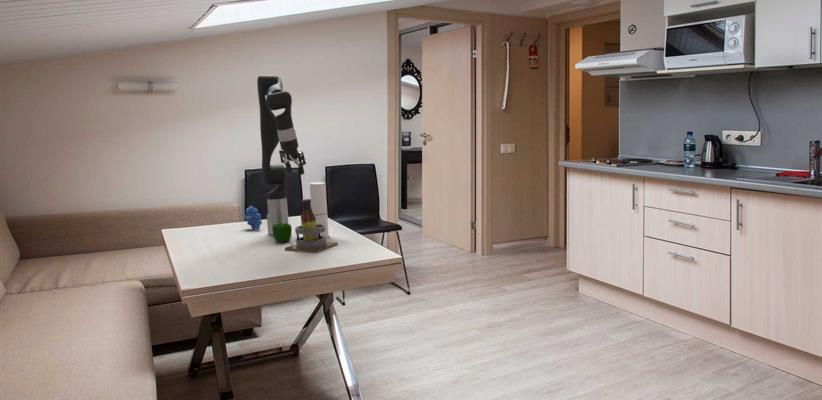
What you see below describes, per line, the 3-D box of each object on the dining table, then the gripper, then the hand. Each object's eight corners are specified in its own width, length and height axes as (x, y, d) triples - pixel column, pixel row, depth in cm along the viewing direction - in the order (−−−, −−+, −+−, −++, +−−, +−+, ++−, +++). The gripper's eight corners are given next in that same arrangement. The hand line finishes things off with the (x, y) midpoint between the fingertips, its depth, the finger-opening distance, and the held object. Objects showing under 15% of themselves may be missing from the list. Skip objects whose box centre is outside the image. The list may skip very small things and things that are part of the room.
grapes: (240, 229, 322) (238, 206, 320) (251, 227, 327) (249, 204, 326) (254, 231, 315) (252, 207, 313) (265, 229, 320) (263, 206, 318)
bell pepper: (294, 241, 286) (293, 219, 284) (277, 244, 282) (275, 222, 280) (288, 239, 293) (286, 217, 291) (271, 241, 289) (269, 219, 287)
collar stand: (284, 250, 269) (283, 229, 268) (308, 242, 283) (307, 222, 281) (315, 252, 261) (313, 231, 260) (337, 244, 275) (336, 224, 274)
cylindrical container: (330, 234, 298) (326, 182, 295) (326, 237, 291) (323, 183, 288) (315, 235, 299) (311, 182, 296) (311, 238, 292) (307, 184, 289)
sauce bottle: (321, 243, 273) (317, 198, 271) (314, 246, 268) (310, 200, 265) (307, 243, 276) (303, 198, 273) (300, 246, 270) (296, 200, 267)
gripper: (304, 136, 271) (312, 172, 277) (284, 134, 280) (292, 168, 286) (291, 142, 266) (299, 178, 272) (270, 139, 275) (279, 174, 281)
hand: (295, 173), depth 279 cm, fingers open, 8 cm apart
